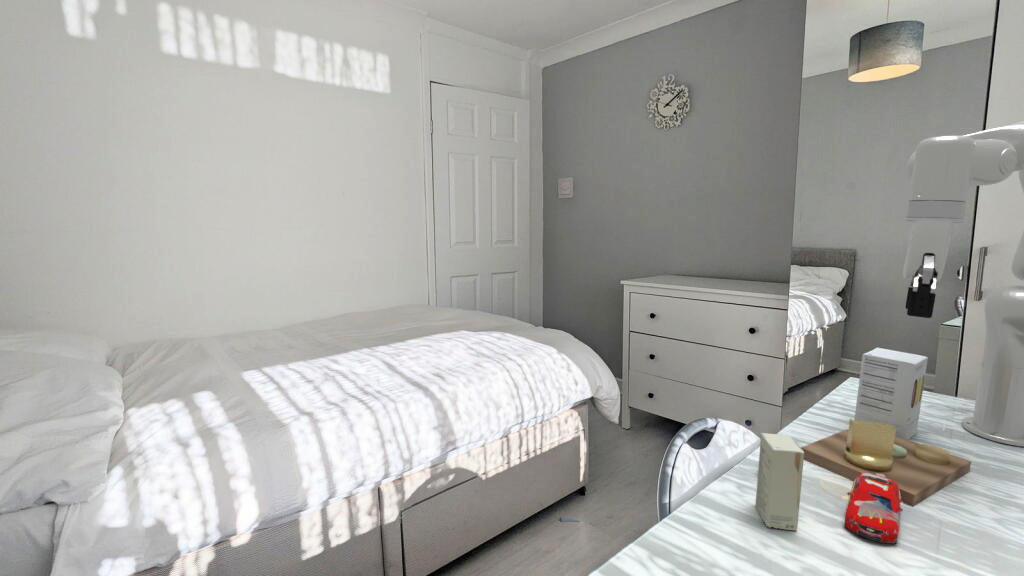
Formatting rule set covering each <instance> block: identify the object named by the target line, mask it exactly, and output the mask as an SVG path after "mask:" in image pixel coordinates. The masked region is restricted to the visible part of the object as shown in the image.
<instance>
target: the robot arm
mask: <svg viewBox="0 0 1024 576" xmlns="http://www.w3.org/2000/svg"><path fill="white" fill-rule="evenodd" d="M905 171H906V176H907V179H908V180H909V181H910V185H909V192H908V199H907V205H906V210H905V218H904V221H906V222H912V224H911V225H910V231H909V234H908V239H907V246H906V251H905V252H906V253H905V257H904V264H903V269H902V270H903V271H902V276H903V278H904V279H906V280H909V276H911V280H910V284H909V285H910V286H908V288H907V289H908V290H907V296H906V301H905V309H906V310H907V311H906V315H907V316H909V317H916V318H925V319H931V318H933V313H934V307H935V301H936V296H937V295H936V293H935V291H936V285H937V284H936V283H937V282H939V281H940V280H941V281H942V276H943V273H944V269H945V266H946V261H947V257H948V253H949V248H950V244H951V243H950V242H951V237H952V230H953V225H954V224H962V223H964V219H965V217H964V216H965V211H966V206H967V200H968V196H969V189H970V187H973V186H974V187H976V186H978V187H979V186H981V187H982V186H991V185H996V184H998V183H1002V182H1003V181H1005V180H1006V179H1008V178H1010V176H1011V175H1013V173H1014V172H1018V179H1019V183H1020V185H1021V189H1022V193H1023V194H1024V120H1022V121H1018V122H1015V123H1014V122H1013V123H1011V124H1008V125H1003V126H999V127H995V128H989V129H985V130H980V131H977V132H974V133H969V134H965V135H939V136H933V137H928V138H925V139H923V140H921V141H920V142H919V143H918V144H917V146H916V149H915V151H914V152H913V153H912V154H911V156H910V157H909V159H908V160H907V163H906V169H905ZM1011 273H1012V275H1013V276H1014V277H1015V278H1016V279H1019V280H1021V281H1024V231H1022V234H1021V237H1020V239H1019V242H1018V244H1017V246H1016V250H1015V252H1014V255H1013V259H1012V262H1011ZM984 320H985V321H984V322H985V338H984V339H985V340H984V346H983V347H984V348H983V354H982V360H981V361H982V362H981V367H980V372H979V378H978V385H977V392H976V397H975V403H974V409H973V415H972V416H969V417H964V418H963V419H962V422H961V425H962V427H963V428H964V429H965V430H967V431H968V432H970V433H971V434H974V435H976V436H978V437H981V438H984V439H987V440H990V441H994V442H997V443H1000V444H1001V443H1002V444H1005V445H1011V446H1017V447H1023V448H1024V285H1005V286H1001V287H998V288H995V289H994V290H992V291H991V292H989V294H988V295H987V296H986V299H985V301H984Z"/></svg>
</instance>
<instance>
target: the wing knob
mask: <svg viewBox="0 0 1024 576" xmlns="http://www.w3.org/2000/svg"><path fill="white" fill-rule="evenodd" d="M847 429H848V437H847V446H845V452H844V457H845V459H846V460H848V461H849V462H850V463H852V464H854V465H856V466H859V467H862V468H865V469H869V470H874V471H889V470H891V469H892V464H893V457H892V453H893V446H894V438H895V431H896V427H894V426H893V425H892V424H890V423H880V422H871V421H861V420H854V419H852V418H850V419H849V422H848V428H847Z"/></svg>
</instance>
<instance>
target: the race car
mask: <svg viewBox="0 0 1024 576" xmlns="http://www.w3.org/2000/svg"><path fill="white" fill-rule="evenodd" d="M846 494H847V495H848V496H849V499H848V503H847V506H846V509H845V510H846V511H845V515H844V517H845V518H844V527H845V528H847V529H848V530H850V531H851V532H853V533H855V535H859V536H861V537H863V538H866V539H868V540H871V541H875V542H878V543H884V544H897V543H898V536H899V531H900V513H901V512H904V509H903V508H902V507H901V494H900V491H899V487H898V485H897V483H895V482H894V481H892V480H890V479H887V478H884V477H881V476H877V475H873V474H869V473H860V474H859V475H858V476H857V478H856V479H855V481H853V483H852V487H851V492H849V491H848V492H847V493H846Z"/></svg>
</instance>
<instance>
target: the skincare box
mask: <svg viewBox="0 0 1024 576" xmlns="http://www.w3.org/2000/svg"><path fill="white" fill-rule="evenodd" d="M759 445H760V446H759V453H758V454H759V457H758V465H757V467H758V469H757V481H756V495H755V507H756V509H757V511H758V514H759V515H761V516H760V517H761V519H762V521H763V523H764V522H765V523H764V525H765V524H766V525H765V527H767V526H769V527H768V528H771V527H774V528H773V529H778V528H779V529H781V530H788V531H798V527H799V526H798V524H799V513H800V503H801V493H802V492H801V490H802V482H803V479H802V478H803V471H804V460H805V459H804V451H803V450H802V449H801V447H802V446H800V445H799V444H798V442H796V440H795V439H794V438H793V437H792V436H791V435H787V434H777V433H766V432H761V433H760V443H759ZM779 529H778V530H779Z"/></svg>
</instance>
